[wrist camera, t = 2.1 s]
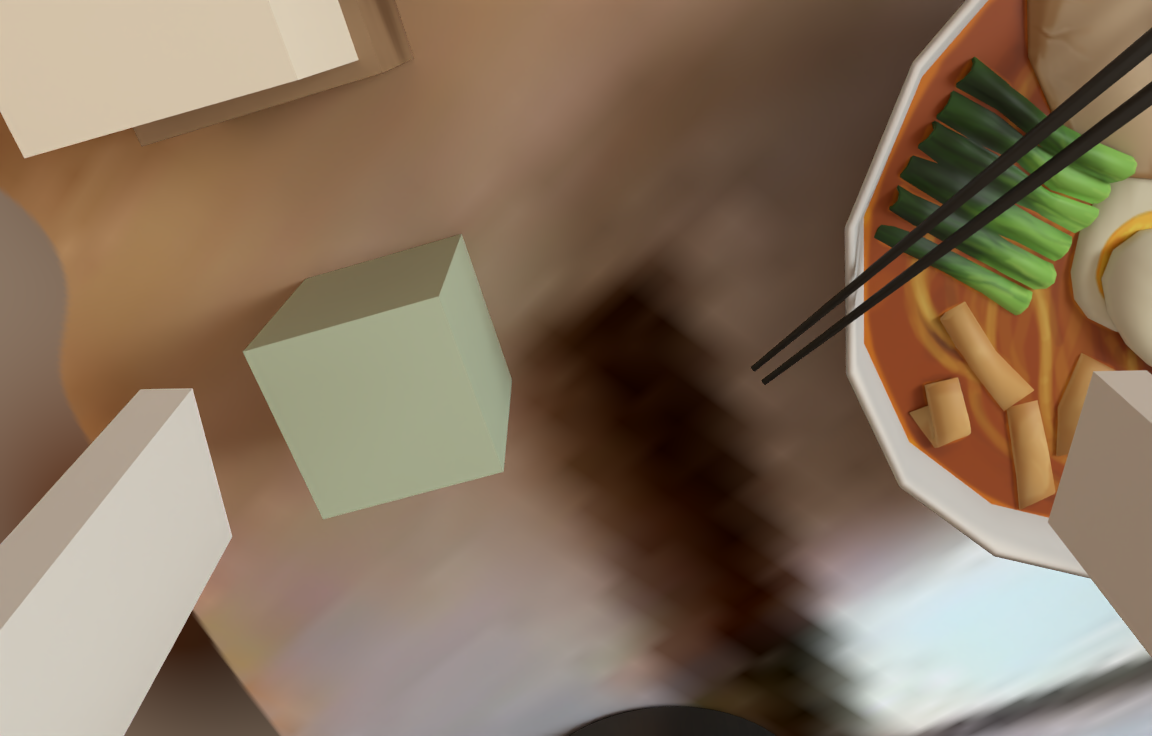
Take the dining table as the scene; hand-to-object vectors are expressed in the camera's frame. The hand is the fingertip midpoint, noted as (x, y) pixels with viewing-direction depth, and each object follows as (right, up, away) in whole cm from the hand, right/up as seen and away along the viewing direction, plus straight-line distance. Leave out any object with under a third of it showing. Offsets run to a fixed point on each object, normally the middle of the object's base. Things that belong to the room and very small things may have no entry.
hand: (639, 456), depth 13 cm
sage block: (-7, +3, +19) cm, 21 cm away
